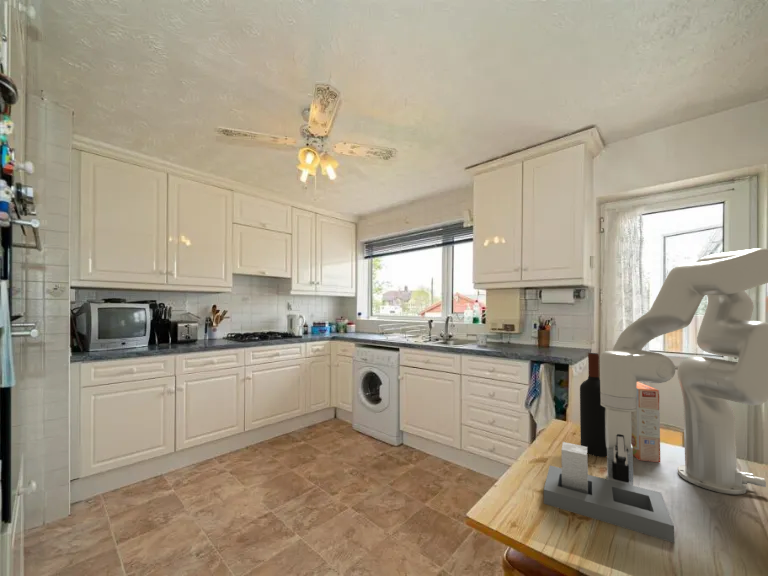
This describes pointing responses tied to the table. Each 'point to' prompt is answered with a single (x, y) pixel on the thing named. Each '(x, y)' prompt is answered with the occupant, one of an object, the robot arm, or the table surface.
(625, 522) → the tray
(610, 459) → the loose billet
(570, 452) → the block
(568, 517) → the table surface
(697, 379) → the robot arm
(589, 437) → the wine bottle
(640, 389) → the cracker box
